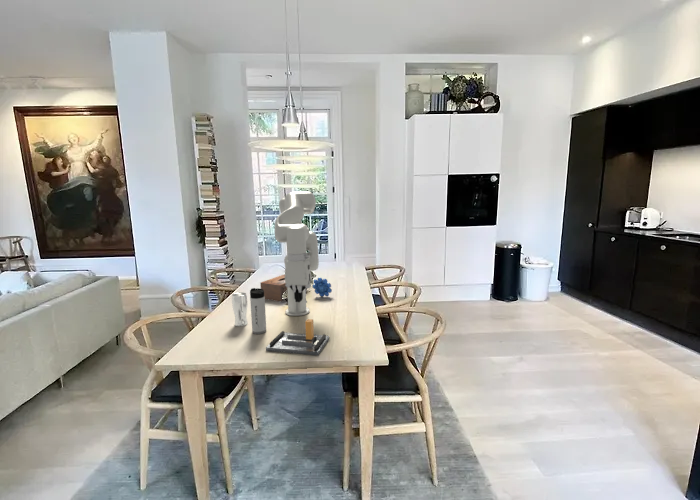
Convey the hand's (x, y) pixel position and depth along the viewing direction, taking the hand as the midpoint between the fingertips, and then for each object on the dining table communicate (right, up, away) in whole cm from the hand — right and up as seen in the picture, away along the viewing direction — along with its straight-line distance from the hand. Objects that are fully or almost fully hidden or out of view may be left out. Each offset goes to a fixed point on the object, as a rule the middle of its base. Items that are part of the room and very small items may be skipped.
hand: (298, 301), depth 149 cm
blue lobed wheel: (+4, -8, +69) cm, 70 cm away
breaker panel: (-1, -19, +3) cm, 19 cm away
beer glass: (-32, -15, +28) cm, 45 cm away
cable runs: (-1, -17, +3) cm, 18 cm away
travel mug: (-21, -17, +18) cm, 32 cm away
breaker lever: (+4, -17, +2) cm, 18 cm away
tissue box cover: (-20, -7, +77) cm, 79 cm away
